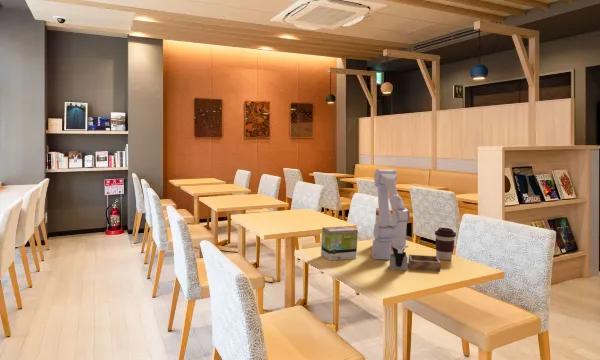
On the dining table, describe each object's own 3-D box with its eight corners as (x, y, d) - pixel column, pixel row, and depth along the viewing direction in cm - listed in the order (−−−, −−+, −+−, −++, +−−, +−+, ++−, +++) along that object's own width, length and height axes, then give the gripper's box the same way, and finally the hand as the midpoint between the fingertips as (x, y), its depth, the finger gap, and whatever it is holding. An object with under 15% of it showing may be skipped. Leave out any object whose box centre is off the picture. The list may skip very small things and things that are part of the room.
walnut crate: (410, 269, 189) (411, 260, 189) (408, 262, 199) (408, 254, 199) (439, 271, 187) (440, 262, 187) (436, 264, 197) (436, 256, 197)
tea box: (329, 261, 198) (330, 231, 196) (320, 256, 207) (321, 227, 206) (357, 258, 204) (358, 229, 202) (346, 253, 213) (347, 225, 212)
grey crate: (390, 269, 188) (390, 256, 188) (389, 265, 193) (390, 253, 193) (406, 270, 187) (407, 257, 187) (405, 267, 192) (406, 254, 191)
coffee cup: (455, 262, 202) (457, 231, 201) (434, 260, 204) (436, 230, 203) (452, 256, 212) (454, 227, 210) (432, 255, 214) (434, 226, 212)
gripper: (410, 239, 181) (408, 270, 182) (407, 232, 195) (405, 260, 196) (393, 238, 182) (392, 268, 183) (391, 231, 196) (390, 259, 198)
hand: (398, 264), depth 190 cm, fingers closed on grey crate, 5 cm apart
